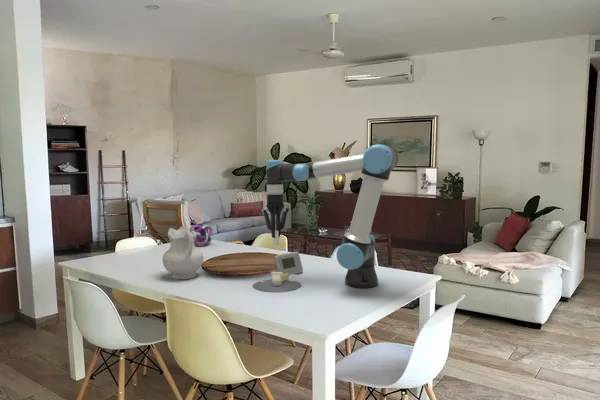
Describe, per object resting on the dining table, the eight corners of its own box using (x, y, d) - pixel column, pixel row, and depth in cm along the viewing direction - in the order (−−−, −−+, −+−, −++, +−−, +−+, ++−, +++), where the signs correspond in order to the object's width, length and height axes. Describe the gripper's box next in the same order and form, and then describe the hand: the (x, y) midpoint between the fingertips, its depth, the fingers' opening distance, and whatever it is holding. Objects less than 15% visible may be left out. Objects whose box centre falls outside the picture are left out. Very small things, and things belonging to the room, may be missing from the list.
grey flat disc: (311, 286, 209) (311, 284, 209) (278, 297, 192) (278, 295, 192) (276, 278, 223) (276, 276, 223) (242, 287, 207) (242, 285, 207)
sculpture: (184, 248, 311) (189, 242, 293) (188, 224, 316) (193, 217, 299) (207, 251, 316) (213, 245, 298) (210, 227, 322) (216, 221, 304)
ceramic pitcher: (213, 279, 225) (215, 228, 225) (178, 284, 211) (180, 230, 210) (188, 272, 240) (190, 224, 239) (154, 276, 226) (156, 225, 225)
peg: (280, 286, 205) (280, 274, 204) (269, 285, 207) (269, 273, 206) (292, 279, 217) (292, 267, 216) (282, 278, 219) (282, 266, 218)
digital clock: (278, 279, 222) (278, 257, 221) (269, 275, 230) (269, 254, 229) (307, 274, 231) (306, 253, 230) (297, 270, 238) (297, 250, 237)
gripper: (285, 192, 218) (286, 242, 220) (258, 193, 212) (260, 244, 215) (291, 193, 211) (292, 244, 213) (264, 194, 206) (265, 247, 208)
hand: (276, 244), depth 214 cm, fingers closed
